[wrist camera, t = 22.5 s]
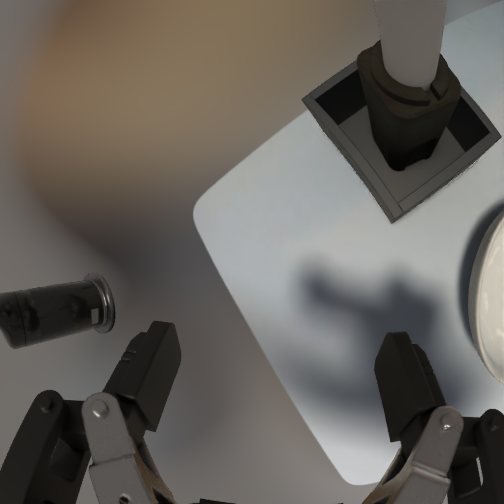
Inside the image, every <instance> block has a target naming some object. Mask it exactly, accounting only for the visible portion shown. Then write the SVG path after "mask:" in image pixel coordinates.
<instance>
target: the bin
mask: <svg viewBox="0 0 504 504" xmlns="http://www.w3.org/2000/svg"><path fill="white" fill-rule="evenodd" d="M356 62H357V60H356V61H354V62H353V63H351V64H350V65H348V66H347V67H345V68H344V69H343V70H341V71H340V72H338V73H337V74H335V75H334V76H332V77H331V78H330V79H328V80H327V81H325V82H324V83H323V84H321V85H320V86H318V87H317V88H316V89H314V90H313V91H312V92H310V93H309V94H308V95H306V96H305V97H304V98H302V101H303V103H304V104H305V105H306V107H307V108H308V110H309V111H310V112H311V114H312V115H313V117H314V118H315V119H316V121H317V122H318V124H319V125H320V127H321V128H322V129H323V131H324V132H325V134H326V135H327V136H328V137H329V138H330V140H331V141H332V142H333V143H334V144H335V146H336V147H337V148H338V149H339V151H340V152H341V153H342V154H343V156H344V157H345V158H346V160H347V161H348V162H349V163H350V165H351V166H352V167H353V169H354V170H355V171H356V173H357V174H358V175H359V177H360V178H361V179H362V181H363V182H364V184H365V185H366V186H367V188H368V189H369V191H370V192H371V194H372V195H373V196H374V198H375V199H376V201H377V202H378V204H379V205H380V207H381V208H382V210H383V211H384V213H385V214H386V216H387V217H388V219H389V220H390V222H391V223H394V222H395V221H396V220H398V219H399V218H401V217H402V216H403V215H405V214H406V213H408V212H409V211H410V210H412V209H413V208H415V207H416V206H417V205H419V204H420V203H421V202H423V201H424V200H426V199H427V198H428V197H430V196H431V195H432V194H434V193H435V192H436V191H438V190H439V189H440V188H442V187H443V186H444V185H446V184H447V183H448V182H449V181H451V180H452V179H453V178H455V177H456V176H457V175H458V174H460V173H461V172H462V171H464V170H465V169H466V168H467V167H469V166H470V165H471V164H472V163H474V162H475V161H476V160H477V159H478V158H479V157H480V156H482V155H483V154H484V153H485V152H486V151H487V150H488V149H489V148H490V147H492V146H493V145H494V144H495V143H496V142H497V141H498V140H499V139H500V138H501V135H500V133H499V132H498V131H497V129H496V128H495V126H494V125H493V124H492V122H491V121H490V120H489V118H488V117H487V116H486V115H485V113H484V112H483V111H482V109H481V108H480V107H479V106H478V105H477V103H476V102H475V101H474V100H473V99H472V98H471V96H470V95H469V94H468V93H467V92H466V91H465V90H464V88H463V87H462V86H461V91H462V92H461V96H460V98H459V100H458V103H457V105H456V107H455V109H454V111H453V114H452V116H451V118H450V120H449V122H448V124H447V126H446V128H445V130H444V132H443V134H442V136H441V138H440V140H439V142H438V144H437V146H436V148H435V149H434V151H433V153H432V155H431V157H430V158H429V159H427V160H425V159H423V160H420V161H418V162H416V163H414V164H412V165H410V166H408V167H406V168H405V170H404V171H394V170H393V169H391V168H390V167H389V166H388V164H387V162H386V160H385V159H384V157H383V155H382V153H381V151H380V150H379V148H378V146H377V144H376V143H375V141H374V139H373V135H372V130H371V124H370V119H369V114H368V109H367V104H366V100H365V95H364V91H363V87H362V83H361V79H360V75H359V71H358V67H357V63H356Z"/></svg>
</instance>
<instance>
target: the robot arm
mask: <svg viewBox="0 0 504 504" xmlns="http://www.w3.org/2000/svg"><path fill="white" fill-rule="evenodd" d="M106 321H107V304H106V300H105V296H104V293H103V291H102V289H101V287H100V286H99V284H98V283H97V282H96V281H95V280H92V279H91V280H86V281H85V280H84V281H77V282H71V283H64V284H57V285H50V286H46V287H38V288H33V289H27V290H19V291H13V292H6V293H0V330H1V332H2V334H3V335H4V337H5V339H6V341H7V343H8V344H9V346H10V347H12V348H13V349H18V348H21V347H26V346H30V345H34V344H38V343H42V342H45V341H49V340H53V339H57V338H61V337H64V336H68V335H72V334H76V333H80V332H83V331H87V330H91V329H94V328H100V327H103V326H104V325H105V323H106ZM180 362H181V349H180V345H179V341H178V337H177V332H176V328H175V325H174V324H173V323H168V322H161V321H154V322H153V323H152V324H151V326H150V328H149V330H148V331H147V333H145V332H141V333H139V334H138V335H137V336H136V337H134V338H133V339H132V340H131V342H130V343H129V345H128V347H127V349H126V352H124V354H123V356H122V357H121V360H120V361H119V363H118V364H117V366H116V368H115V370H114V372H113V374H112V375H111V377H110V379H109V381H108V382H107V384H106V386H105V388H104V390H103V391H102V392H99V393H95V394H92V395H91V396H89V397H88V398H87V399H86V400H85V401H74V400H64V399H63V398H62V397H61V395H60V394H59V393H58V392H56V391H53V390H46V391H43V392H41V393H40V394H38V395H37V396H36V398H35V399H34V401H33V403H32V405H31V407H30V409H29V410H28V412H27V414H26V416H25V418H24V420H23V422H22V424H21V426H20V428H19V430H18V432H17V434H16V436H15V438H14V440H13V442H12V445H11V447H10V449H9V451H8V453H7V456H6V459H5V460H4V463H3V465H2V468H1V470H0V504H76V500H77V497H78V494H79V491H80V487H81V484H82V481H83V478H84V475H85V472H86V469H87V466H88V463H89V460H90V458H91V456H92V459H93V464H92V465H90V466H89V474H90V478H91V481H92V484H93V487H94V490H95V493H96V496H97V498H98V501H99V504H177V502H176V500H175V499H174V497H173V495H172V493H171V492H170V490H169V488H168V487H167V485H166V484H165V483H164V481H163V480H162V478H161V476H160V474H159V472H158V470H157V468H156V466H155V464H154V462H153V459H152V457H151V455H150V452H149V450H148V448H147V445H146V443H145V441H144V438H143V436H144V433H145V431H146V430H149V431H153V432H156V429H157V427H158V424H159V421H160V418H161V415H162V412H163V410H164V407H165V404H166V401H167V398H168V396H169V393H170V390H171V387H172V385H173V382H174V379H175V377H176V374H177V371H178V368H179V366H180ZM374 371H375V376H376V380H377V384H378V388H379V392H380V396H381V400H382V405H383V409H384V413H385V418H386V423H387V427H388V432H389V437H390V442H395V441H401V447H400V449H399V450H398V452H397V454H396V456H395V457H394V459H393V461H392V463H391V464H390V466H389V468H388V469H387V471H386V473H385V474H384V476H383V478H382V479H381V481H380V482H379V484H378V485H377V487H376V488H375V489H374V490H373V492H371V493H370V495H369V496H368V497H367V498H366V499H365V500H364V501H363V503H362V504H442V503H443V500H444V498H445V496H446V494H447V497H448V504H504V415H503V414H502V413H501V412H500V411H499V410H496V409H489V410H487V411H486V412H485V413H484V414H483V415H482V416H481V417H480V418H479V417H462V416H461V414H460V412H459V411H458V410H457V409H455V408H453V407H451V406H447V404H446V402H445V399H444V396H443V394H442V391H441V389H440V386H439V384H438V381H437V379H436V376H435V374H433V369H432V367H431V365H430V362H429V360H428V358H427V355H426V353H425V352H424V351H423V350H422V349H421V348H420V347H419V346H418V345H417V344H412V342H411V340H410V337H409V335H408V333H407V332H405V331H403V332H388V333H387V334H386V335H385V337H384V340H383V343H382V345H381V347H380V350H379V352H378V355H377V357H376V360H375V365H374ZM58 440H59V441H58ZM57 442H58V443H57ZM55 447H56V448H55ZM53 452H54V453H53ZM52 454H53V455H52ZM51 457H52V458H51ZM478 457H479V460H480V465H481V470H482V475H483V484H482V486H481V482H480V477H479V471H478V466H477V461H476V458H478ZM192 504H234V503H226V502H219V501H212V500H206V499H200V503H192ZM341 504H343V503H341Z"/></svg>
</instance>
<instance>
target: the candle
mask: <svg viewBox="0 0 504 504" xmlns="http://www.w3.org/2000/svg"><path fill="white" fill-rule="evenodd" d="M373 3H374V7H375V12H376V16H377V22H378V27H379V33H380V40H379V41H378V42H377V43H376V44H375V45H374V46H373V47H370V48H368V49H366V50H364V51H362V52H361V53H360V54H359V55H358V57H357V62H356V63H357V67H358V71H359V75H360V79H361V83H362V87H363V91H364V95H365V100H366V104H367V109H368V114H369V119H370V124H371V130H372V135H373V139H374V141H375V143H376V144H377V146H378V148H379V150H380V151H381V153H382V155H383V157H384V159H385V160H386V162H387V164H388V166H389V167H390V168H391V169H393V170H394V171H404V170H405V168H406V167H408V166H410V165H412V164H414V163H416V162H418V161H420V160H423V159H425V160H427V159H429V158H430V157H431V155H432V153H433V151H434V149H435V148H436V146H437V144H438V142H439V140H440V138H441V136H442V134H443V132H444V130H445V128H446V126H447V124H448V122H449V120H450V118H451V116H452V114H453V111H454V109H455V107H456V105H457V103H458V100H459V98H460V96H461V92H462V91H461V85H460V82H459V80H458V79H457V77H456V76H455V75H454V73H453V72H452V71H451V70H450V68H449V67H448V65H447V62H446V61H445V59H444V58H443V56H442V55H441V54H440V50H441V44H442V37H443V29H444V21H445V11H446V0H373Z"/></svg>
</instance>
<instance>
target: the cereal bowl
mask: <svg viewBox="0 0 504 504" xmlns="http://www.w3.org/2000/svg"><path fill="white" fill-rule="evenodd" d="M468 311H469V323H470V328H471V334H472V337H473V341H474V344H475V347H476V349H477V351H478V354H479V356H480V357H481V359H482V362H483V363H484V365H485V366H486V368H487V369H488V371H489V372H490V373H491V374H492V376H493V377H494V378H495V379H496V380H498V381H499V382H500V383H502V384H503V385H504V210H503V211H501V212H500V213H499V215H498V216H497V217H496V218H495V219H494V221H493V222H492V224H491V225H490V226H489V228H488V230H487V232H486V233H485V235H484V237H483V239H482V241H481V244H480V246H479V248H478V252H477V254H476V257H475V261H474V263H473V268H472V273H471V278H470V285H469V296H468Z"/></svg>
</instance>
